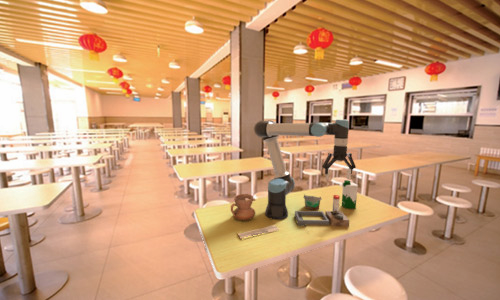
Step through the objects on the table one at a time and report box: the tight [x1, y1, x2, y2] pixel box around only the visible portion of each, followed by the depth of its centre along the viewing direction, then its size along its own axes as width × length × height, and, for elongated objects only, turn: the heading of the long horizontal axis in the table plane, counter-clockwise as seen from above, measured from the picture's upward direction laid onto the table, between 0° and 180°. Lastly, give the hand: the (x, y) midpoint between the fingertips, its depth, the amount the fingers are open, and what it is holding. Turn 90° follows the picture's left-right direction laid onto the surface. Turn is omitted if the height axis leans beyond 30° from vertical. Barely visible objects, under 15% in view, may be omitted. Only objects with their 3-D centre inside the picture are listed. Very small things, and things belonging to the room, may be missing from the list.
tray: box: [294, 210, 330, 227], centre depth 131 cm, size 18×13×4 cm
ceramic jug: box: [230, 193, 256, 221], centre depth 135 cm, size 18×14×14 cm
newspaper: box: [237, 224, 280, 239], centre depth 118 cm, size 24×7×2 cm, turn 114°
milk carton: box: [341, 179, 359, 210], centre depth 150 cm, size 9×9×20 cm
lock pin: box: [331, 194, 341, 215], centre depth 130 cm, size 4×4×16 cm
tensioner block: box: [324, 210, 350, 228], centre depth 128 cm, size 10×12×7 cm
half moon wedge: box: [303, 193, 322, 211], centre depth 146 cm, size 12×6×10 cm, turn 62°
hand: (338, 179), depth 130 cm, fingers open, 13 cm apart
